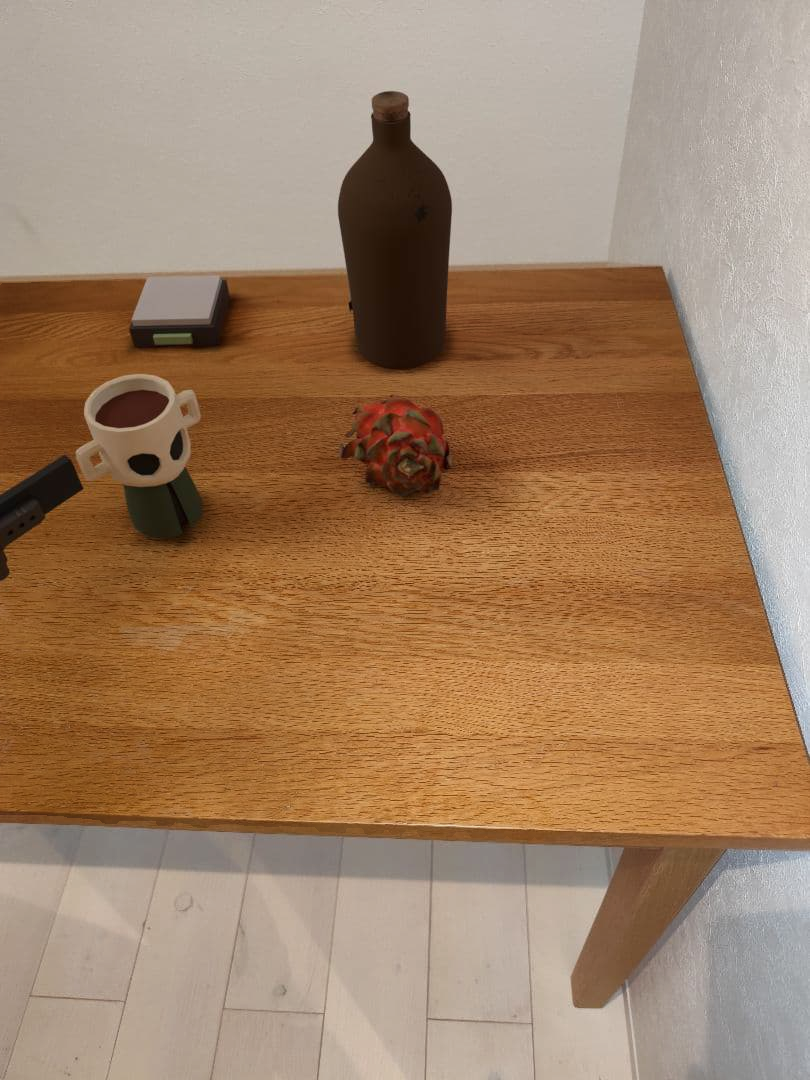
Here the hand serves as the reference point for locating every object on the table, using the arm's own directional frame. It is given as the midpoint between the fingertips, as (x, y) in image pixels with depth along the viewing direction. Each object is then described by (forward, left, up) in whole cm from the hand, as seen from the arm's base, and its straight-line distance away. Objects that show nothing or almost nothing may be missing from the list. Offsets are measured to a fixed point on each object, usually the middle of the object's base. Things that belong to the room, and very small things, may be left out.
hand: (17, 429), depth 62 cm
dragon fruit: (+26, +12, -16) cm, 33 cm away
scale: (+2, +36, -16) cm, 40 cm away
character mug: (+6, +7, -16) cm, 19 cm away
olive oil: (+26, +32, -16) cm, 44 cm away
